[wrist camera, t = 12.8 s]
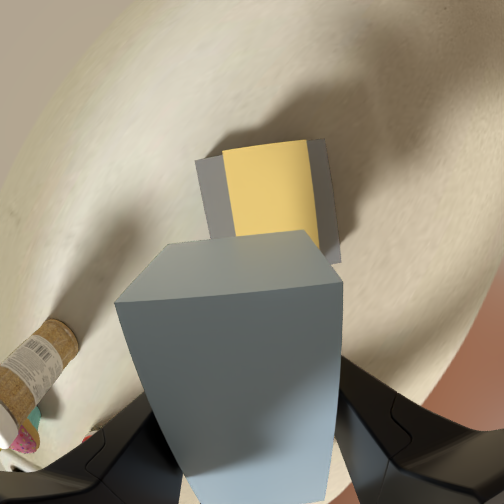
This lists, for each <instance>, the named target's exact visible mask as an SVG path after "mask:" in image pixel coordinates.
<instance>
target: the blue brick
mask: <svg viewBox="0 0 504 504" xmlns="http://www.w3.org/2000/svg"><path fill="white" fill-rule="evenodd" d="M114 304H115V307H116V311H117V314H118V318H119V321H120V324H121V327H122V330H123V333H124V336H125V339H126V342H127V345H128V348H129V351H130V354H131V357H132V360H133V362H134V365H135V368H136V370H137V373H138V376H139V378H140V381H141V383H142V386H143V388H144V391H145V393H146V396H147V398H148V401H149V403H150V405H151V408H152V410H153V412H154V415H155V417H156V419H157V421H158V424H159V426H160V428H161V430H162V432H163V434H164V436H165V439H166V441H167V443H168V445H169V447H170V449H171V451H172V453H173V455H174V457H175V459H176V461H177V462H178V464H179V466H180V468H181V470H182V472H183V474H184V475H185V477H186V479H187V481H188V483H189V484H190V486H191V488H192V490H193V491H194V493H195V495H196V497H197V498H198V500H199V502H200V503H201V504H305V503H312V502H318V501H324V499H325V494H326V488H327V482H328V476H329V469H330V463H331V456H332V448H333V440H334V432H335V423H336V414H337V404H338V392H339V380H340V365H341V347H342V321H343V281H342V279H341V278H340V277H339V275H338V274H337V273H336V271H335V270H334V269H333V267H332V266H331V265H330V263H329V262H328V261H327V259H326V258H325V257H324V255H323V254H322V253H321V251H320V250H319V249H318V247H317V246H316V245H315V243H314V242H313V241H312V239H311V238H310V237H309V236H308V234H307V233H306V232H305V230H294V231H284V232H274V233H265V234H255V235H246V236H236V237H227V238H218V239H209V240H200V241H191V242H182V243H173V244H168V245H167V246H166V247H165V248H164V249H163V250H162V251H161V252H160V253H159V254H158V255H157V256H156V257H155V258H154V259H153V260H152V261H151V263H150V264H149V265H148V266H147V267H146V268H145V269H144V270H143V271H142V272H141V273H140V274H139V276H138V277H137V278H136V279H135V280H134V281H133V282H132V283H131V284H130V285H129V286H128V288H127V289H126V290H125V291H124V292H123V293H122V294H121V295H120V297H119V298H118V299H117V300H116V301H115V302H114Z"/></svg>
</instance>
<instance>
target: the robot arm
mask: <svg viewBox="0 0 504 504" xmlns="http://www.w3.org/2000/svg"><path fill="white" fill-rule="evenodd" d="M334 435H335V437H336V440H337V443H338V445H339V448H340V451H341V453H342V456H343V459H344V461H345V464H346V467H347V469H348V472H349V475H350V477H351V480H352V483H353V485H354V488H355V491H356V493H357V496H358V499H359V502H360V504H504V429H499V430H493V431H477V430H473V429H470V428H467V427H465V426H462V425H460V424H458V423H456V422H453V421H451V420H449V419H446V418H444V417H442V416H440V415H438V414H436V413H433V412H431V411H429V410H427V409H425V408H423V407H421V406H420V405H418V404H416V403H414V402H413V401H411V400H409V399H408V398H406V397H405V396H403V395H401V394H400V393H397V391H395V390H394V389H392V388H390V387H389V386H387V385H386V384H384V383H383V382H381V381H380V380H378V379H377V378H375V377H374V376H372V375H371V374H369V373H368V372H366V371H365V370H363V369H362V368H360V367H359V366H357V365H356V364H354V363H353V362H351V361H350V360H348V359H347V358H345V357H344V356H342V355H341V365H340V380H339V392H338V404H337V414H336V423H335V432H334ZM182 476H183V472H182V470H181V468H180V466H179V464H178V462H177V461H176V459H175V457H174V455H173V453H172V451H171V449H170V447H169V445H168V443H167V441H166V439H165V436H164V434H163V432H162V430H161V428H160V426H159V424H158V421H157V419H156V417H155V415H154V412H153V410H152V408H151V405H150V403H149V401H148V398H147V396H146V393H145V391H144V392H143V393H142V394H141V395H139V396H138V397H137V398H136V399H135V400H134V401H133V402H131V403H130V404H129V405H128V406H127V407H125V408H124V409H123V410H122V411H121V412H120V413H118V414H117V415H116V416H115V417H114V418H112V419H111V420H110V421H109V422H108V423H106V424H105V425H104V426H103V428H100V429H99V430H98V431H97V432H96V433H94V434H93V435H92V436H91V437H89V438H88V439H87V440H85V441H84V442H83V443H81V444H80V445H79V446H77V447H76V448H74V449H73V450H71V451H70V452H68V453H67V454H65V455H64V456H62V457H61V458H59V459H58V460H56V461H55V462H53V463H52V464H50V465H48V466H47V467H45V468H43V469H41V470H39V471H35V472H29V473H23V472H6V471H0V504H178V503H179V496H180V489H181V483H182ZM200 504H201V503H200Z"/></svg>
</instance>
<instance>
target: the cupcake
mask: <svg viewBox="0 0 504 504" xmlns="http://www.w3.org/2000/svg"><path fill="white" fill-rule="evenodd" d="M40 417H41V414H40V411H39V409H38V407H37V406H36V407H35V408H34V409H33V410H32V411H31V413H30V414H29V415H28V417H27V418H26V420H25V421H24V422H23V424H22V425H21V427H20V429H19V431H18V435H17V437H16V438H15V440H14V441H13V443H12V444H11V445H10V447H9V448H12V449H13V450H16V451H18V452H22V453H24V454H26V453H32V452H33V453H34V452H36V451H37V449H38V448H39V445H40V438H39V434H38V425H39V421H40ZM1 449H2V448H0V451H1Z"/></svg>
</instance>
